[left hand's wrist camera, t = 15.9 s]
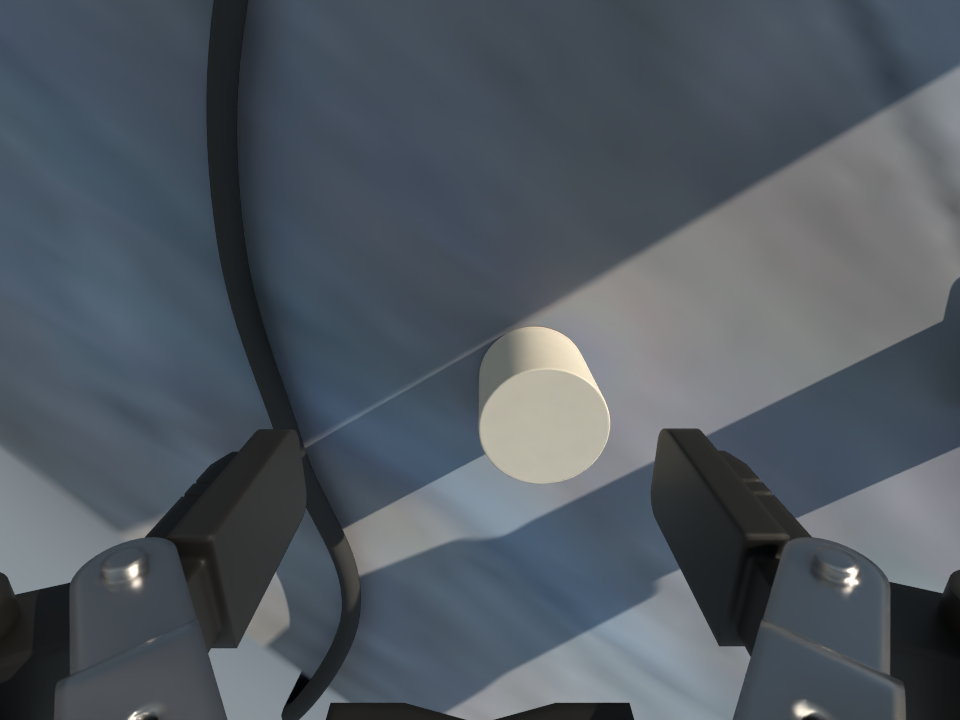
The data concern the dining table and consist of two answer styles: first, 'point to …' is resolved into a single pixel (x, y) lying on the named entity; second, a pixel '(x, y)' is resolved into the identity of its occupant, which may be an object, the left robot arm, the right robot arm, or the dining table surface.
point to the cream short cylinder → (540, 407)
